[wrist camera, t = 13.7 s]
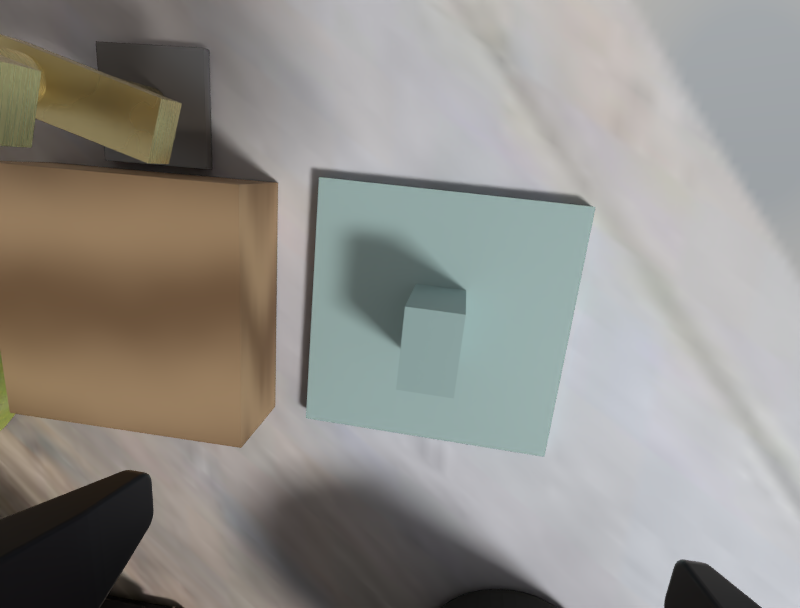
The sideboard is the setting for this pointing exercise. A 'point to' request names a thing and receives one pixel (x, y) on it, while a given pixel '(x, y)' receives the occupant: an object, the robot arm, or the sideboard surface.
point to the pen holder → (498, 600)
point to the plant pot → (4, 400)
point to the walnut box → (141, 279)
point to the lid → (442, 311)
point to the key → (81, 104)
